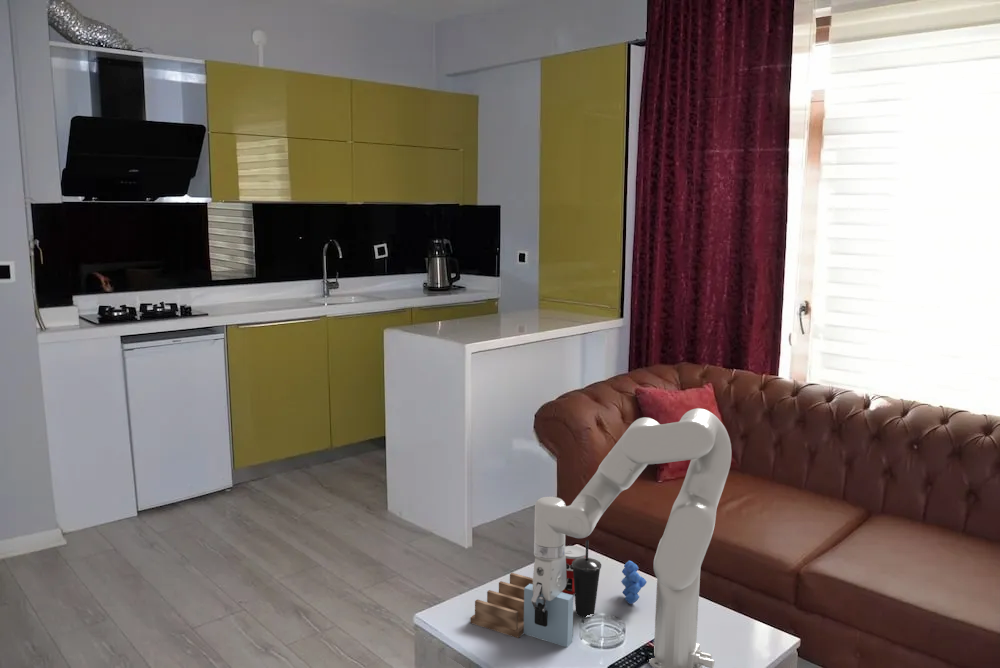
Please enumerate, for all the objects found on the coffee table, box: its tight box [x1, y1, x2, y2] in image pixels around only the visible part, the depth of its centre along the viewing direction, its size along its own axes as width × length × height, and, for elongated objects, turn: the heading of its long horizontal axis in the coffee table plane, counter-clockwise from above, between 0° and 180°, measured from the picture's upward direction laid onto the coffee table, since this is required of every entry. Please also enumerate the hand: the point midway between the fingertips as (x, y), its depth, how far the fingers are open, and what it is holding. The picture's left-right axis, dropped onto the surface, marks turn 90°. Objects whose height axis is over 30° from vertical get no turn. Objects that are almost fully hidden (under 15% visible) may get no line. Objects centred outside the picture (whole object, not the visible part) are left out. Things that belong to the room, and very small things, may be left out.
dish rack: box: [470, 572, 533, 639], centre depth 194 cm, size 14×20×6 cm
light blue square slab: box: [523, 584, 574, 648], centre depth 182 cm, size 12×3×12 cm, turn 60°
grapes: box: [620, 560, 647, 605], centre depth 200 cm, size 12×7×12 cm, turn 3°
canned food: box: [562, 545, 586, 595], centre depth 209 cm, size 8×8×11 cm
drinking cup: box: [572, 539, 602, 618], centre depth 194 cm, size 8×8×20 cm
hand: (548, 617), depth 182 cm, fingers open, 6 cm apart
